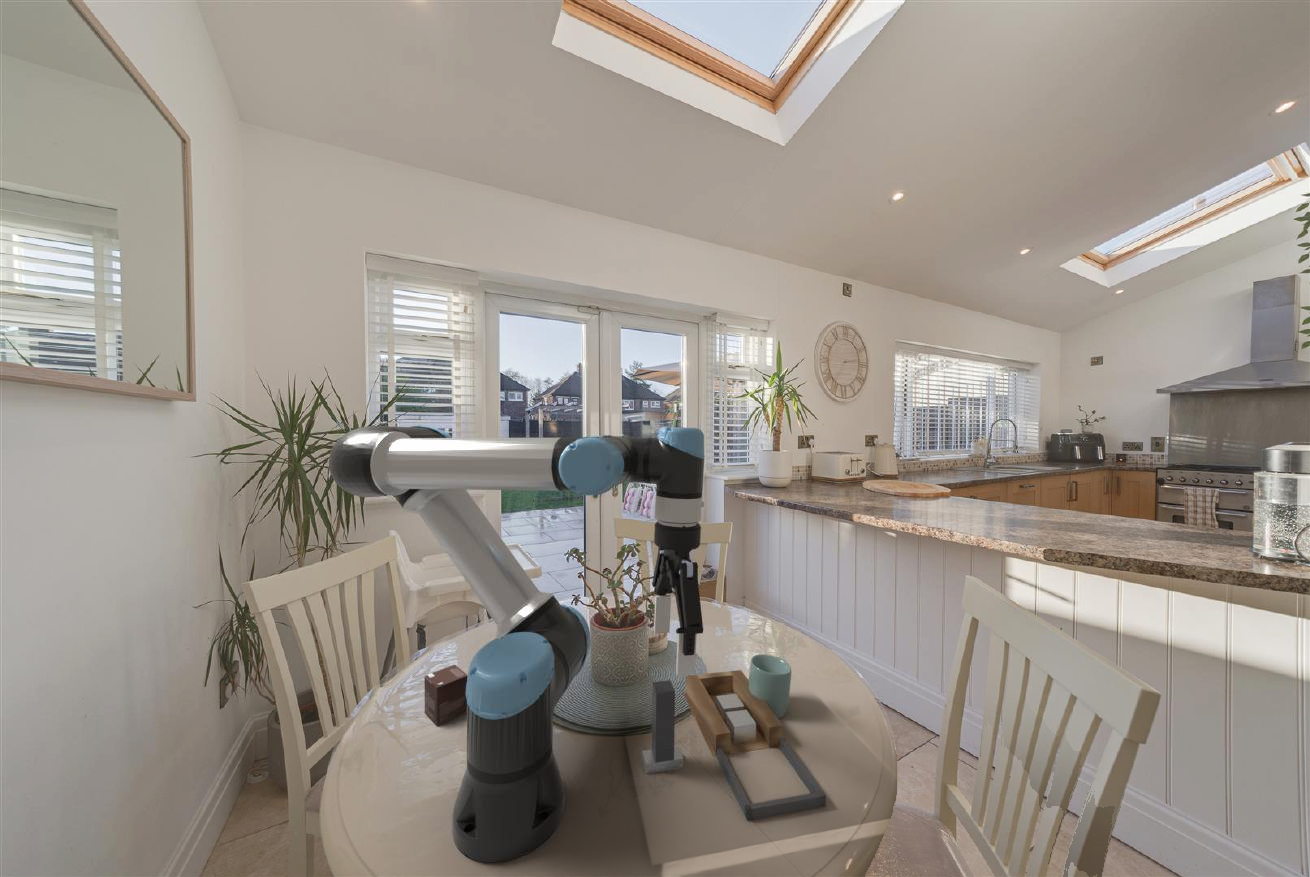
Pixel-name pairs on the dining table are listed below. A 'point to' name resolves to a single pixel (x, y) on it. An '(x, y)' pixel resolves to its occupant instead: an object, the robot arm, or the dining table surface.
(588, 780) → the dining table surface
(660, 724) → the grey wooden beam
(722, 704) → the block
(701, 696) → the slot board
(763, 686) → the cup
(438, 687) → the box
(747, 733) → the chip front
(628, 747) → the dining table surface
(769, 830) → the dining table surface
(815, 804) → the tray
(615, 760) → the dining table surface
